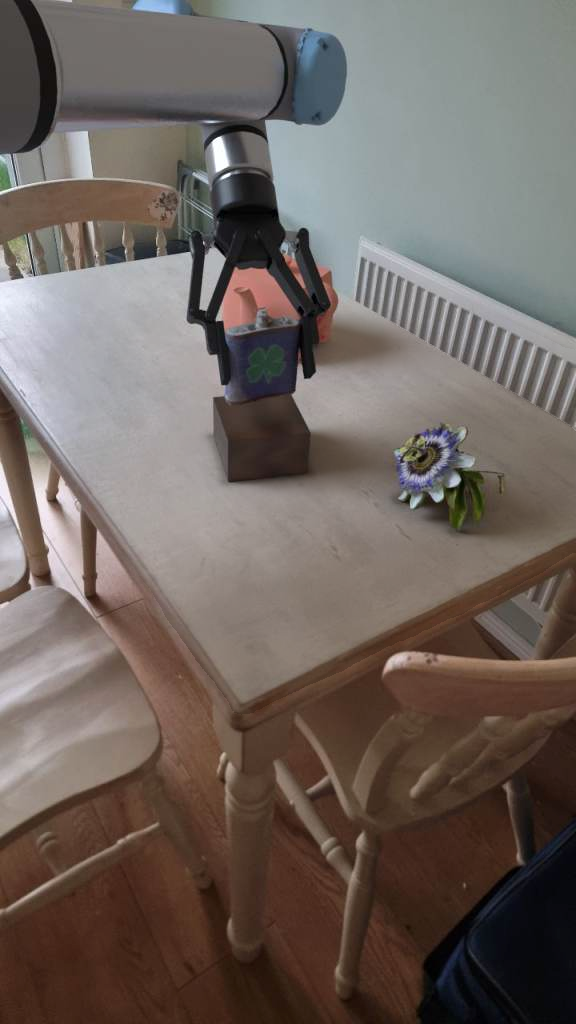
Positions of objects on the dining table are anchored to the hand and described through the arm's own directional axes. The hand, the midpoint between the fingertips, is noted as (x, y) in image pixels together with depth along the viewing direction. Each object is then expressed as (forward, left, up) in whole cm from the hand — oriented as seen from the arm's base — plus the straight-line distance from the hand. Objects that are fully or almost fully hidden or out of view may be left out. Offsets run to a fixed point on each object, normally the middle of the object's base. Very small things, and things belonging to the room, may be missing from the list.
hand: (268, 378), depth 78 cm
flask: (0, +3, -4) cm, 5 cm away
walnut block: (0, +3, -13) cm, 13 cm away
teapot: (+8, +32, -13) cm, 36 cm away
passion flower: (+19, -10, -13) cm, 25 cm away
